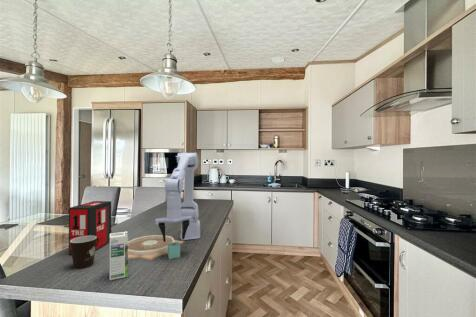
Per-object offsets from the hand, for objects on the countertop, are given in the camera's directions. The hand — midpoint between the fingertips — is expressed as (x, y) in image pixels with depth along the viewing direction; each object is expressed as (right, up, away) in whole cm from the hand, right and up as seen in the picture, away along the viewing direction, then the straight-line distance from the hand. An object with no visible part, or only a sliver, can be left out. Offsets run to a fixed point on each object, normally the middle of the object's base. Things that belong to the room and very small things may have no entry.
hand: (173, 239), depth 100 cm
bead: (0, -7, 0) cm, 7 cm away
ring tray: (-14, -7, +10) cm, 18 cm away
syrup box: (-15, -7, -17) cm, 23 cm away
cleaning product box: (-41, -7, +10) cm, 42 cm away
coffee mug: (-32, -7, -7) cm, 33 cm away
